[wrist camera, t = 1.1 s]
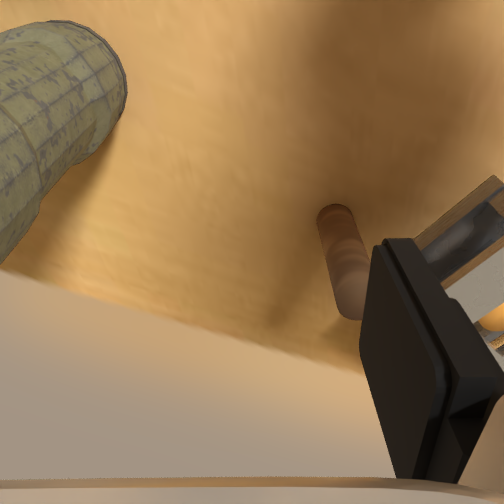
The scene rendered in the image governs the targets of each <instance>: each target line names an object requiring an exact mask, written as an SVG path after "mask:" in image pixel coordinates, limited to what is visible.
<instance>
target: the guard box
mask: <svg viewBox="0 0 504 504" xmlns="http://www.w3.org/2000/svg"><path fill="white" fill-rule="evenodd" d="M414 242H415V244H416V245H417V247H418V248H419V250H420V252H421V253H422V255H423V256H424V258H425V260H426V261H427V263H428V264H429V266H430V268H431V269H432V271H433V273H434V274H435V276H436V277H437V279H438V281H439V282H440V284H441V285H442V287H443V289H444V290H445V292H446V293H447V295H448V297H449V298H454V299H456V300H457V301H458V302H459V303H460V304H461V306H462V308H463V309H464V311H465V312H466V314H467V315H468V317H469V318H470V320H471V322H472V323H473V325H474V326H475V328H476V329H477V331H478V332H479V334H480V336H481V337H482V339H483V340H484V342H485V343H486V345H487V346H488V348H489V350H490V351H491V353H492V354H493V356H494V357H495V359H496V361H497V362H498V364H499V365H500V367H501V368H502V370H503V371H504V344H503V345H502V346H500V347H499V348H496V347H495V346H494V345H492V344H491V343H490V342H491V341H493V340H495V339H496V338H498V337H499V336H501V335H502V334H504V331H490V330H487V329H485V328H484V327H482V326H481V324H480V323H479V321H478V320H479V319H481V318H482V317H484V316H485V315H486V314H488V313H489V312H491V311H492V310H494V309H495V308H497V307H498V306H500V305H501V304H503V303H504V183H503V182H502V181H500V180H499V179H498V178H497V177H496V176H495V175H492V176H491V177H490V178H489V179H488V180H486V181H485V182H484V183H483V184H481V185H480V186H479V187H478V188H476V189H475V190H474V191H473V192H472V193H470V194H469V195H468V196H467V197H465V198H464V199H463V200H462V201H461V202H459V203H458V204H457V205H456V206H454V207H453V208H452V209H451V210H450V211H448V212H447V213H446V214H445V215H443V216H442V217H441V218H440V219H438V220H437V221H436V222H435V223H434V224H432V225H431V226H430V227H429V228H427V229H426V230H425V231H424V232H423V233H421V234H420V235H419V236H418V237H416V238H415V239H414Z"/></svg>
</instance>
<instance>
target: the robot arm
mask: <svg viewBox="0 0 504 504" xmlns="http://www.w3.org/2000/svg"><path fill="white" fill-rule="evenodd" d="M359 351H360V357H361V361H362V364H363V367H364V371H365V374H366V378H367V381H368V384H369V387H370V391H371V394H372V398H373V401H374V404H375V407H376V411H377V414H378V418H379V421H380V425H381V428H382V431H383V435H384V438H385V441H386V445H387V448H388V451H389V455H390V458H391V462H392V465H393V468H394V471H395V475H396V478H377V477H190V478H189V477H185V478H184V477H183V478H97V479H96V478H95V479H28V480H0V504H504V371H503V370H502V368H501V367H500V365H499V364H498V362H497V361H496V359H495V357H494V356H493V354H492V353H491V351H490V350H489V348H488V346H487V345H486V343H485V342H484V340H483V339H482V337H481V336H480V334H479V332H478V331H477V329H476V328H475V326H474V325H473V323H472V322H471V320H470V318H469V317H468V315H467V314H466V312H465V311H464V309H463V308H462V306H461V304H460V303H459V302H458V301H457V300H456V299H454V298H449V297H448V295H447V293H446V292H445V290H444V289H443V287H442V285H441V284H440V282H439V281H438V279H437V277H436V276H435V274H434V273H433V271H432V269H431V268H430V266H429V264H428V263H427V261H426V260H425V258H424V256H423V255H422V253H421V252H420V250H419V248H418V247H417V245H416V244H415V242H414V240H413V239H411V238H392V239H384V240H383V242H382V244H381V245H375V246H374V248H373V251H372V258H371V265H370V271H369V278H368V285H367V292H366V299H365V305H364V312H363V319H362V326H361V333H360V339H359Z"/></svg>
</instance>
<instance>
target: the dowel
mask: <svg viewBox="0 0 504 504" xmlns="http://www.w3.org/2000/svg"><path fill="white" fill-rule="evenodd" d="M317 226H318V230H319V234H320V238H321V242H322V246H323V251H324V255H325V259H326V263H327V267H328V271H329V275H330V279H331V283H332V287H333V292H334V296H335V300H336V304H337V308H338V310H339V312H340V313H341V314H342V315H343V316H344V317H346V318H348V319H351V320H362V319H363V312H364V305H365V299H366V292H367V285H368V278H369V271H370V265H371V263H370V260H369V257H368V255H367V252H366V250H365V247H364V245H363V242H362V239H361V237H360V234H359V232H358V229H357V227H356V224H355V221H354V219H353V216H352V214H351V212H350V210H349V209H348V208H347V207H345V206H343V205H340V204H332V205H329V206H326V207H325V208H323V209H322V210H321V211H320V213H319V214H318V217H317Z"/></svg>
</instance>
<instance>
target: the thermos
mask: <svg viewBox="0 0 504 504" xmlns="http://www.w3.org/2000/svg"><path fill="white" fill-rule="evenodd" d="M127 93H128V92H127V82H126V74H125V72H124V69H123V67H122V64H121V62H120V60H119V57H118V55H117V54H116V53H115V52H114V50H113V49H112V48H111V46H110V45H109V44H108V43H107V41H106V40H105V39H103V38H102V37H101V36H99V35H98V34H97V33H95V32H94V31H93V30H91V29H90V28H88V27H86V26H83V25H80V24H78V23H75V22H72V21H62V20H50V21H47V22H34V23H31V24H27V25H24V26H20V27H17V28H14V29H10V30H7V31H5V32H2V33H0V264H1V263H2V262H3V261H4V259H5V258H6V257H7V256H8V255H9V253H10V252H11V251H12V250H13V249H14V247H15V246H16V245H17V244H18V242H19V241H20V240H21V239H22V238H23V236H24V235H25V234H26V233H27V231H28V230H29V228H30V226H31V225H32V223H33V221H34V220H35V218H36V216H37V215H38V213H39V208H40V201H41V200H42V198H43V197H44V196H45V195H46V194H47V193H48V192H49V190H50V189H51V188H52V187H53V186H54V185H55V184H56V182H57V181H58V180H59V179H60V178H61V177H62V176H63V174H64V173H65V172H66V171H67V170H68V169H69V168H70V166H72V165H76V164H79V163H81V162H82V161H83V160H85V159H86V158H87V157H89V156H90V155H91V154H93V153H94V152H95V151H96V150H97V148H98V147H99V146H100V145H101V143H102V142H103V141H104V140H105V139H106V137H107V136H108V135H109V133H110V132H111V130H112V129H113V127H114V125H115V124H116V122H117V121H118V118H119V117H120V115H121V113H122V112H123V110H124V107H125V103H126V98H127Z"/></svg>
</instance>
